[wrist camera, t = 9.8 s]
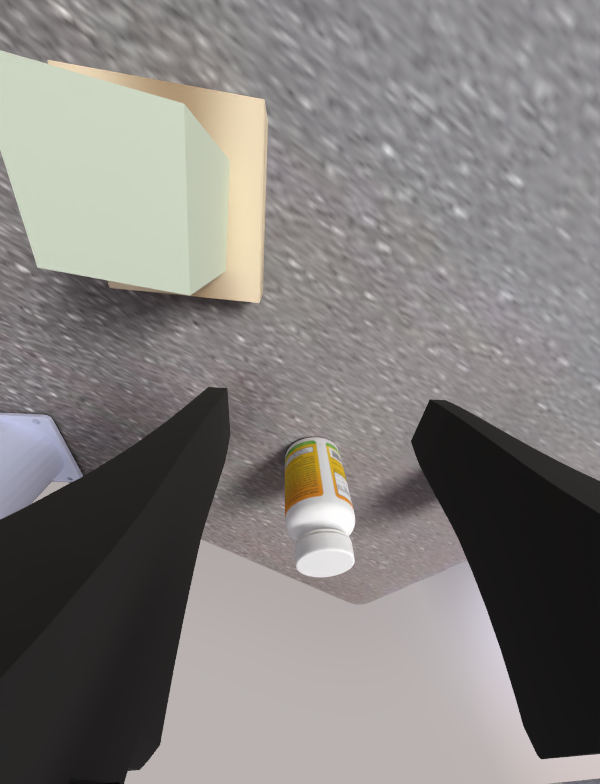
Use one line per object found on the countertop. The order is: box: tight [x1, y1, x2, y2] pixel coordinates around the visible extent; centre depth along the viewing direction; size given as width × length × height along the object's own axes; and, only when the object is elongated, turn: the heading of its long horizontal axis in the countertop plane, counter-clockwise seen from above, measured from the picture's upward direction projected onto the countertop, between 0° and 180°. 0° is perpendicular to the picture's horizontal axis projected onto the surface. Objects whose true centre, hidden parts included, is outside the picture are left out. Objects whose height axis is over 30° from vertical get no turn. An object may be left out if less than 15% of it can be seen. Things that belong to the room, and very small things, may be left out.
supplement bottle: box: [285, 437, 355, 577], centre depth 21 cm, size 5×5×10 cm
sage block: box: [0, 51, 230, 296], centre depth 9 cm, size 4×4×6 cm
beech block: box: [48, 60, 268, 303], centre depth 13 cm, size 8×8×3 cm
